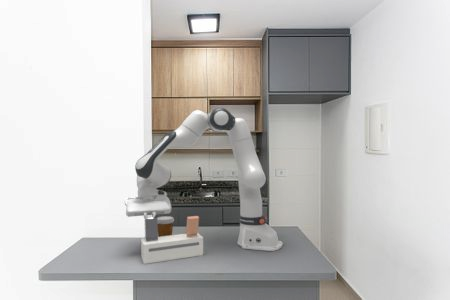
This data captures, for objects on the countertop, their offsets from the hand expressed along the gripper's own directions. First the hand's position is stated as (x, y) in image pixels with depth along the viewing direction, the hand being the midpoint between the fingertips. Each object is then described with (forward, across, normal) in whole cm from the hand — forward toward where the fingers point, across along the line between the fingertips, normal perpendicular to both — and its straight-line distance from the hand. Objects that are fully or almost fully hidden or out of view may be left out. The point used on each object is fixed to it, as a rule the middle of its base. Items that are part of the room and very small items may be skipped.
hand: (150, 222), depth 133 cm
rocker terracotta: (+6, +18, +2) cm, 19 cm away
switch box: (+13, +9, +9) cm, 18 cm away
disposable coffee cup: (-3, +10, +26) cm, 28 cm away
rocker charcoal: (+7, 0, +2) cm, 7 cm away
